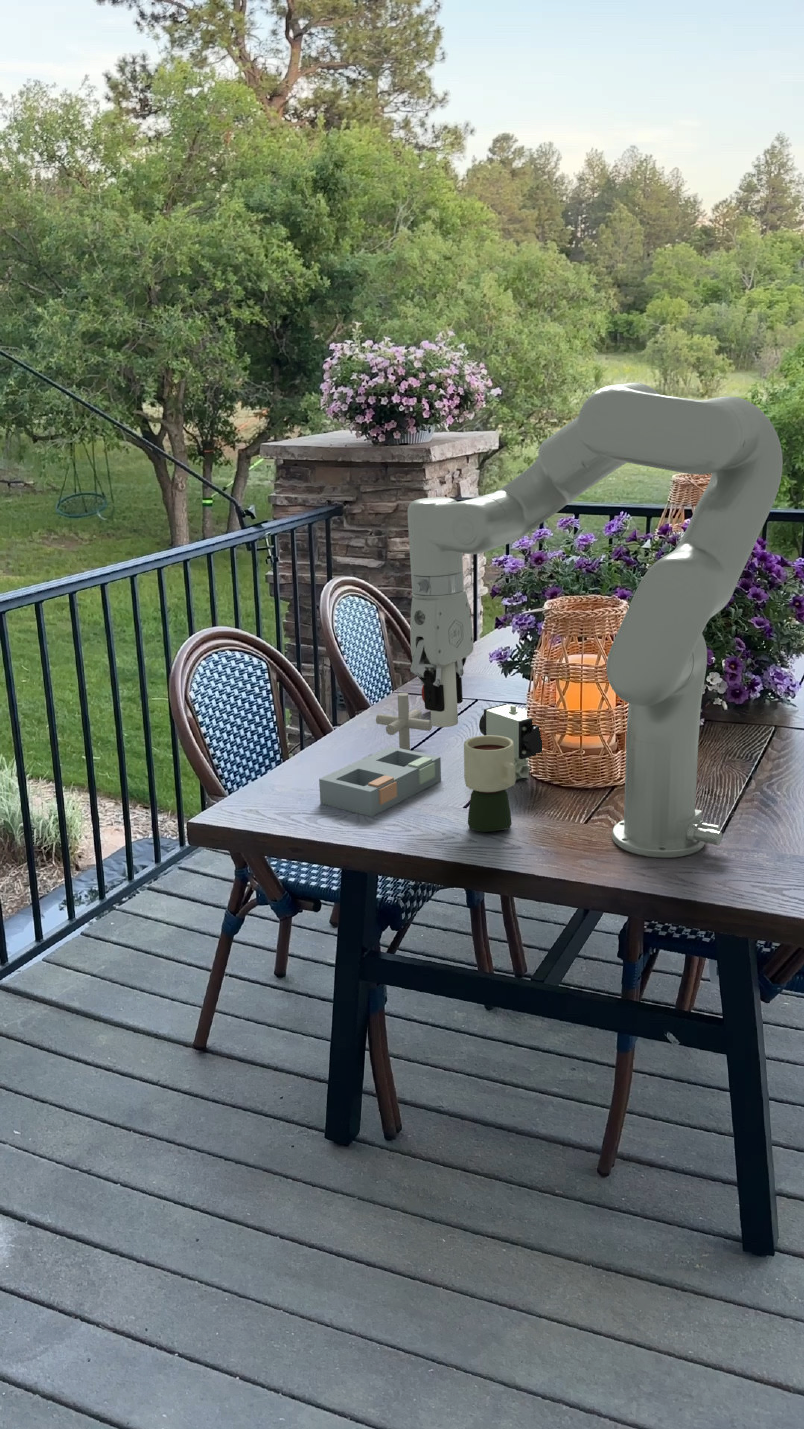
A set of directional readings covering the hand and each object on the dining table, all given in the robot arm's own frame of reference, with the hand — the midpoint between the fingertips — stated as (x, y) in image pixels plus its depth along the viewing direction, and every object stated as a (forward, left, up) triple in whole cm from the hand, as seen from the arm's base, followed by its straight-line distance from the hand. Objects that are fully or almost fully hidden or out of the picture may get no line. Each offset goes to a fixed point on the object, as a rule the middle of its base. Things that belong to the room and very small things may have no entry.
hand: (443, 704), depth 174 cm
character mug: (-11, +5, -16) cm, 20 cm away
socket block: (+11, +2, -15) cm, 19 cm away
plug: (0, 0, -3) cm, 3 cm away
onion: (+28, -37, -16) cm, 49 cm away
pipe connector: (+20, -16, -16) cm, 30 cm away
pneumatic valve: (-3, -15, -16) cm, 22 cm away
